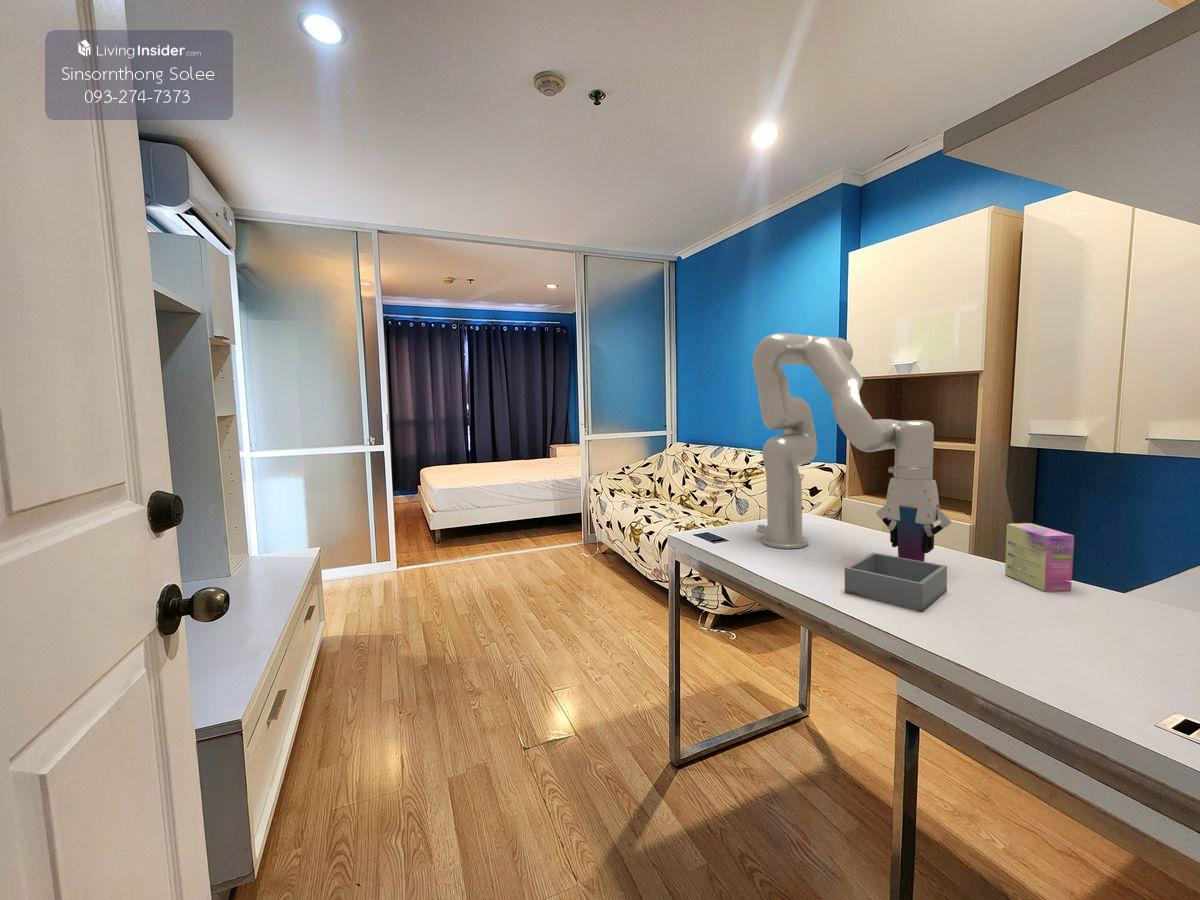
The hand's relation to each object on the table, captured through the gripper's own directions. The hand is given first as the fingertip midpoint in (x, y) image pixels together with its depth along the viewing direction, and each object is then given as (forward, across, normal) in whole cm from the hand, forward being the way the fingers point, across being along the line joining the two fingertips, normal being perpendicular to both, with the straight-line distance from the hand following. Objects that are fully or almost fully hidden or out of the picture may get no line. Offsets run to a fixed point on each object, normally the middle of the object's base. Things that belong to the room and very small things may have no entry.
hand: (911, 548), depth 118 cm
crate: (+5, +3, -17) cm, 18 cm away
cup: (+5, 0, 0) cm, 5 cm away
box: (+5, +22, +8) cm, 24 cm away
